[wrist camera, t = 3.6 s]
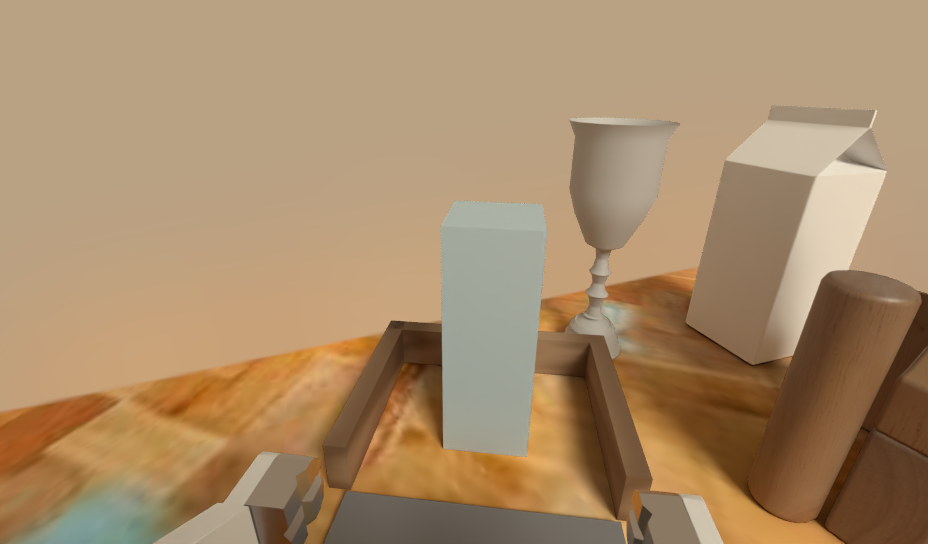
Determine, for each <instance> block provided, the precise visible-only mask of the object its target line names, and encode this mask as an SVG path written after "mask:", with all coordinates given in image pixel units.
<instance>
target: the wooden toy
mask: <svg viewBox="0 0 928 544" xmlns="http://www.w3.org/2000/svg"><path fill="white" fill-rule="evenodd" d="M861 427H862V428H864V429H866V430H867V431H869V432H870V433H869V435H868V437H867V439H866V441H865V443H864V445H863V447H862V449H861V451H860V453H859V455H858V457H857V459H856V461H855V463H854V465H853V467H852V469H851V471H850V473H849V475H848V477H847V479H846V481H845V483H844V485H843V487H842V489H841V491H840V493H839V495H838V497H837V499H836V501H835V503H834V505H833V507H832V509H831V511H830V513H829V515H828V517H827V519H826V521H825V527H826V528H827V529H828V530H829V531H830V532H832V533H833V534H834V535H836V536H837V537H839V538H840V539H841V540H843V541H844V542H845V543H847V544H928V294H927V293H924V292H920V291H917V290H915V289H914V288H912V287H911V286H909V285H907V284H905V283H902V282H900V281H898V280H895V279H892V278H889V277H886V276H882V275H878V274H874V273H869V272H863V271H854V270H836V271H830V272H829V273H828V274H826V275H825V276H824V277H823V278H822V279H821V282H820V284H819V287H818V290H817V292H816V295H815V298H814V300H813V303H812V306H811V308H810V311H809V314H808V316H807V319H806V322H805V325H804V327H803V330H802V333H801V335H800V338H799V341H798V343H797V346H796V349H795V351H794V354H793V357H792V359H791V362H790V365H789V367H788V370H787V373H786V375H785V378H784V381H783V384H782V386H781V389H780V392H779V394H778V397H777V400H776V402H775V405H774V408H773V410H772V413H771V416H770V418H769V421H768V424H767V426H766V429H765V432H764V434H763V437H762V440H761V443H760V445H759V448H758V451H757V453H756V456H755V459H754V461H753V464H752V467H751V469H750V472H749V475H748V481H747V483H748V487H749V490H750V493H751V495H752V496H753V497H754V499H755V500H756V501H757V502H758V503H759V504H760V505H761V506H762V507H763V508H764V509H766V510H767V511H769V512H770V513H772V514H773V515H775V516H777V517H779V518H782V519H784V520H787V521H791V522H795V523H806V522H808V521H811V520H813V519H815V518H817V516H818V515H819V513H820V511H821V509H822V507H823V505H824V503H825V501H826V499H827V496H828V494H829V492H830V490H831V488H832V486H833V484H834V482H835V480H836V478H837V476H838V474H839V472H840V470H841V468H842V466H843V464H844V461H845V459H846V457H847V455H848V453H849V451H850V449H851V447H852V445H853V443H854V441H855V439H856V437H857V435H858V433H859V431H860V428H861Z"/></svg>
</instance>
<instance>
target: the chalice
mask: <svg viewBox="0 0 928 544" xmlns="http://www.w3.org/2000/svg"><path fill="white" fill-rule="evenodd" d="M570 123H571V126H572V129H573V131H574V134H575V144H574V152H573V161H572V170H571V181H570V194H571V198H572V202H573V207H574V211H575V215H576V217H577V220H578V223H579V225H580V228H581V231H582V234H583V236H584V239H585V241H586V243H587V244H589V245H591V246H592V247H594V248H596V259H595V262H594V265H593V267H592V268H591V269H590V272H591V274H592V279H593V282H592V284H591V287H590V288H588V289H587V290H586V294H587V295H588V296H589V307H588V310H587V311H585V312H584V313H581V314H578V315H576V316H575V317H574V318H572V319H571V320H570V323H569V325H568V326H567V327H566V328H565V332H564V333H575V334H589V335H603V336H604V337H605V340H606V343H607V346H608V349H609V352H610V355H611V358H612V359H614V358H615V357H617V356H618V355H619V353H620V345H619V343H618V342H617V335H616V333H615V327H614V326H613V324H612V323H611V321H610V320H609V319H608V318H607V317H605V316H604V315H603V314H602V313H601V305H602V302H603V300H604V299H605V298H606V297H608V293H607V291H606V290H605V285H604V283H605V281H606V279H607V277H608V276H609V275H610V274H611V272H610V271H609V267H608V257H609V255H610V253H611V250H615V249H619V248H622V247H623V246H624V245H625V244H626V243H627V241H628V240H629V239H630V237H631V236H632V235H633V233H634V232H635V231H636V229H637V228H638V227H639V225H640V224H641V223H642V222H643V220H644V218H645V217H646V215H647V214H648V212H649V210H650V208H651V206H652V205H653V203H654V201H655V200H656V198H657V196H658V191H659V186H660V181H661V175H662V170H663V165H664V160H665V155H666V149H667V144H668V140H669V139H670V137H671V136H672V135H673V133H674V132H675V130H676V129H677V128H678V126H679V125H680V123H677V122H670V121H661V120H647V119H629V118H574V119H570Z"/></svg>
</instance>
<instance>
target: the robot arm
mask: <svg viewBox="0 0 928 544" xmlns="http://www.w3.org/2000/svg"><path fill="white" fill-rule="evenodd" d="M320 468H321V467H320V462H319V458H315V457H308V456H300V455H293V454H285V453H275V452H267V451H263V452H262V453H260V454H259V455H258V456H257V457H256V458H255V460H254V461H253V462H252V464H251V465H250V466H249V468H248V469H247V471H246V472H245V473H244V475H243V476H242V477H241V479H240V480H239V482H238V483H237V484H236V486H235V487H234V489H233V490H232V491H231V493H230V494H229V495H228V497H227V498H226V500H225V501H224V502H223V503H216V504H215V505H213V506H211V507H210V508H208V509H207V510H205V511H203V512H202V513H200V514H199V515H197V516H195V517H194V518H192V519H191V520H189V521H187V522H186V523H184V524H183V525H181V526H179V527H178V528H176V529H175V530H173V531H171V532H170V533H168V534H167V535H165V536H163V537H162V538H160V539H159V540H157V541H155V542H154V543H152V544H304V542H305V540H306V538H307V536H308V533H307V528H306V526H307V525H308V524H309V523H311V522H312V521H313V520H315V519H316V517H317V515H318V512H319V510H320V508H321V504H322V500H323V496H324V484H323V480H322V479H321V478H320V477H319V476H318V475H317V474H318V472H319V470H320ZM631 501H632V505H633V510H632V511H630V512H629V513H628V518H627V541H628V544H724V543H723V541H722V539H721V537H720V534H719V532H718V530H717V528H716V526H715V523H714V521H713V519H712V517H711V515H710V512H709V510H708V508H707V506H706V503H705V501H704V499H703V498H702V497H701V496H699V495H689V494H676V493H671V492H659V491H648V490H637V489H635V491H634V492H633V495H632V499H631Z"/></svg>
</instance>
